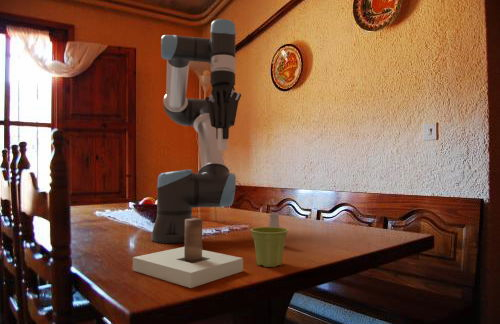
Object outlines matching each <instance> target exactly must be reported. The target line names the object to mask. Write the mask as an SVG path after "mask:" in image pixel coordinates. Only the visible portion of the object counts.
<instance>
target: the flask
mask: <svg viewBox="0 0 500 324" xmlns="http://www.w3.org/2000/svg"><path fill="white" fill-rule="evenodd" d="M268 216H269V217H270V218H269V225H268V227H279V228H281V227H280V222H279V221H280V220H279V217H280V213H276V212H271V213H268ZM284 247H286V242H285V243H284Z"/></svg>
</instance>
